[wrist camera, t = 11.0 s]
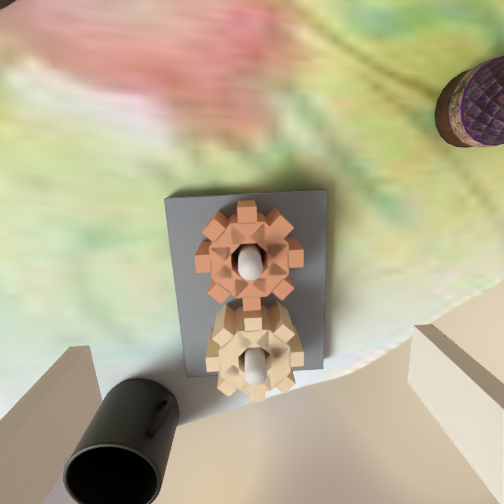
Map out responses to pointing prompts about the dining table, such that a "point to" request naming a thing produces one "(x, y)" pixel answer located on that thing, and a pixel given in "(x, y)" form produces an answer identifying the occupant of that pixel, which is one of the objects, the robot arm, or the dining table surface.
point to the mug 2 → (473, 107)
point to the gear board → (231, 310)
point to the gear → (244, 232)
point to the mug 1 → (124, 446)
